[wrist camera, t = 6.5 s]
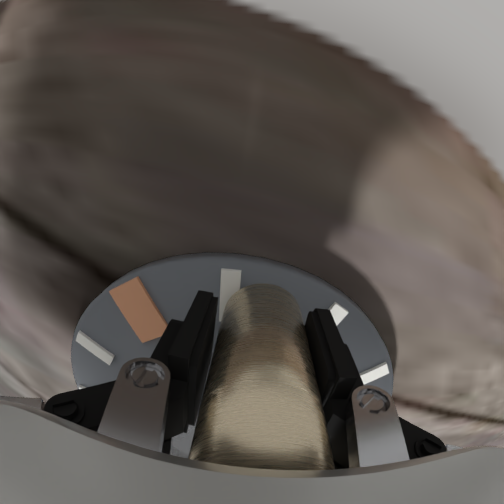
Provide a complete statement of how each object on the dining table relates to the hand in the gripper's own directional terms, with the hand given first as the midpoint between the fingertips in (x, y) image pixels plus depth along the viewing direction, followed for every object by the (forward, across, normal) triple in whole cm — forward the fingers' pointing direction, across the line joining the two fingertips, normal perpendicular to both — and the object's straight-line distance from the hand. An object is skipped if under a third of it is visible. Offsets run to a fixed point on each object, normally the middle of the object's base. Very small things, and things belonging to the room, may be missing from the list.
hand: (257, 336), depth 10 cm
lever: (+1, 0, +5) cm, 5 cm away
